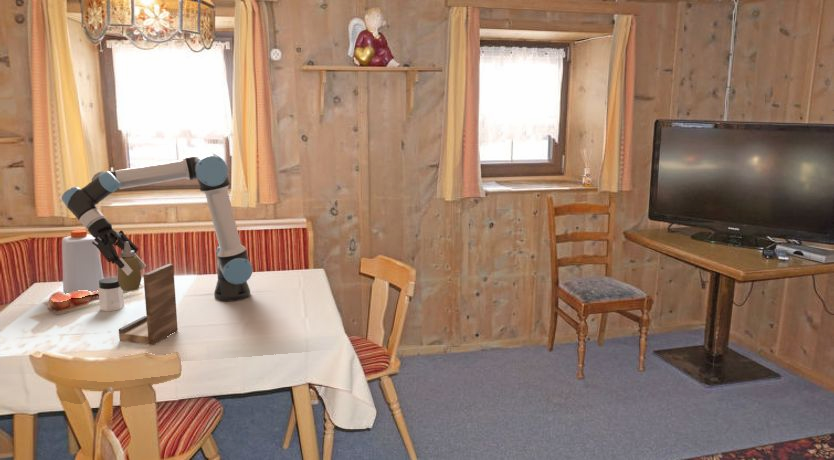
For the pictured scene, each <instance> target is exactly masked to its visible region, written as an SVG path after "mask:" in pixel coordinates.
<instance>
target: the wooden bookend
mask: <svg viewBox="0 0 834 460" xmlns="http://www.w3.org/2000/svg"><path fill="white" fill-rule="evenodd" d="M175 286H176V285H175V271H174V264H173V263H167V264H165V265H162V266H160V267H158V268H155V269H152V270H151V271H148V272H146V273H143V288H144V300H145V302H144V303H145V315H144V316H141V317H139V318H137V319H136V320H134V321H132V322H130V323H128V324H126V325H124V326H122V327H119V328H118V338H119V341H120V342H123V343H124V342H125V343H126V342H127V343H133V344H134V343H135V344H141V345H147V344H149V345H148V346H155V345H157V344H158V342H159V343H160V342H162V341H163V339H164V338H165V339H167V338H168V337H167V336H169V335H170V334H172V333H174V332H175V333H177V332H178V331H179V329H178V314H177V303H176V301H177V300H176V287H175ZM177 330H178V331H177ZM176 331H177V332H176ZM175 333H174V334H175ZM172 335H173V334H172ZM170 336H171V335H170ZM170 336H169V337H170ZM166 337H167V338H166ZM165 339H164V340H165ZM161 340H162V341H161ZM156 343H157V344H156Z"/></svg>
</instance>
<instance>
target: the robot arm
mask: <svg viewBox="0 0 834 460" xmlns="http://www.w3.org/2000/svg"><path fill="white" fill-rule="evenodd" d="M228 174H229V169H228V165H227V162H226V161H225V160H224V158H222V157H221V156H218V155H217V154H215V153H213V152H207V151H205V152H200V153H198V154H193V155H188V156H184V157H182V159H180V160H179V159H178V160H173V161H167V162H160V163H155V164H146V165H143V166H136V167H130V168H129V167H128V168H124V169H117V170H112V171H108V170H106V171H100V172H97V173H95V174H94V175H93V177H92V178H91V182H89V183H88V184H86V185H85V186H83V187H82V188H80V187H78V186H72V187H71V188H68V189H67V190H66V191H64V192H63V193H62V195H61V200H62V202H63V203H64V204H65V207H66V208H67V209H68V210H69V211H70V213H72V215H74V216H75V218H76V219H77V220H78V221H79V222H80V223H81V224H82V226H83V227H84V228H85V230H87V232H88V233H89V235H92V236H93V237H94V238H95V239H94V240H93V242H92V243H93V244H94V245H95V246H96V247H97V248H98V249H99V253H101V255H102V256H103V258H105V260H106V261H107V262H108V263H111V264H112V265H113V264H115V265H116V266H117V268H118V267H119V268H121V269H122V270H123V271H124V272H125V273H126V275H127V276H129V275H130V274H131V273H132V272H133V270H132V269H131V268H130V267H129V265H128V264H127V263H126V262H125V261H124V260H123V259H122V257H121V256H120V257H121V258H120V257H119V254H118V252H117V250H116V248H115V247H114V246H116V247H118V248H119V249H121V251H124V245H125V242H129V245H130V248H131V250H133V251H134V252H135V255H134V256H136V257H137V258H138V262H139V267H140V272H141V271H143V270H144V269H145V268H146V267H147V264H146V263H145V262H144V261H143V260H142V257H140V255H139V254H138V253H137V252H138V251H139V247H137V245H135V243H134V242H133V241H132V240H130V238H128V236H126V235H125V233H124V231H123V230H120V231H116V230H115V229H113V228H112V227H113V225H112V223H111V222H110V221H109V220H108V219H107V218H105V215H104V214H103V213H102V212H101V210H99V208H98V207H97V206H96V205H98V204H99V203H100V202H101V201H103V200H104V199H106V198H107V197H109V196H110V195H111V194H113V193H115V192H116V191H117V190H118V191H119V190H122V189H129V188H135V187H141V186H147V185H153V184H159V183H160V184H161V183H165V182H173V181H178V180H182V179H187V180H188V181H192V180H197V183H198V187H199V190H200V192H201V193H203V194H204V195H205V197H206V201H207V205H208V208H209V214H210V217H211V220H212V223H213V227H214V231H215V235H216V239H217V243H218V246H217V247H216V251H215V255H216V268H217V281H216V285H215V288H214V292H213V293H214V299H215V300H217V301H221V302H222V301H223V302H237V301H241V300H245V299H248V298H250V296H251V289H250V287H249V284H248V281H249V279H250V278H251V277H252V275H253V264H252V263H251V262H250V259H249V255H248V252H247V248H246V246H244V245H242V243H241V239H240V235H239V231H238V228H237V227H238V226H237V223H236V218H235V215H234V211H233V207H232V202H231V199H230V198H231V197H230V195H229V192H228V189H229V187H230V185H231V184H230V179H229V175H228Z"/></svg>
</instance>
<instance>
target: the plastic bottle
mask: <svg viewBox="0 0 834 460" xmlns="http://www.w3.org/2000/svg"><path fill="white" fill-rule="evenodd" d="M94 239H95V238H94V237H93V236H92V235H91V234H90V233H89V234H88V230H87V229H74V230H72V231H71V232H70V235H69V236H65V237H63V238H62V240H61V251H62V252H61V254H62V256H61V259H62V288H63V289H62V290H63V291H62V292H63V293H64V292H65V293H70V292H73V291H78V290H88V291H91V292H93V291H97V290H98V288H99V281H100V280H101V279H105V277H104V274H103V273H104V271H103V267H102V261H101V256H100V251H99V249H98V248H97V247H96V246H95V245H94V244H93V243H92V242H93V240H94ZM65 293H64V294H65Z"/></svg>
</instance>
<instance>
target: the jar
mask: <svg viewBox="0 0 834 460" xmlns="http://www.w3.org/2000/svg"><path fill="white" fill-rule="evenodd" d="M98 291H99V294H98V299H99V308H100V309H99V310H101V311H104V312H113V311H120V310H121V309H123V308H124V306H125V301H124V300H125V299H124V290H122V289H121V287H120V285H119V283H118V277H114V276H112V277H104V279H101V280H100V281H99V288H98Z"/></svg>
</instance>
